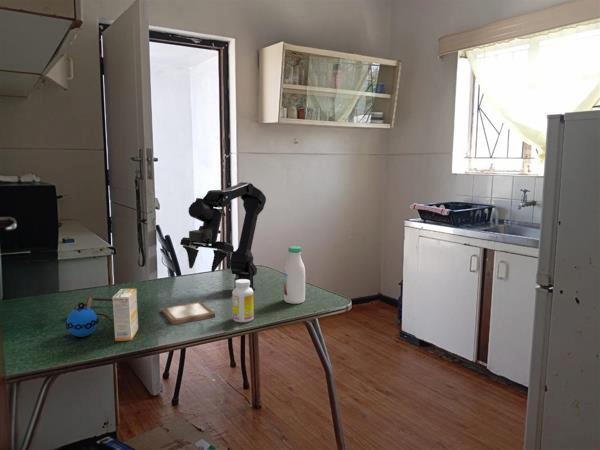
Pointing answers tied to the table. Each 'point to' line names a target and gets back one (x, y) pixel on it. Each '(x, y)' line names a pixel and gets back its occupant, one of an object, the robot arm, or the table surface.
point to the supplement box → (125, 314)
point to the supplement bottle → (242, 301)
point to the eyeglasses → (89, 304)
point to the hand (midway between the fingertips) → (201, 269)
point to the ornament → (82, 321)
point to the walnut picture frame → (187, 313)
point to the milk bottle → (294, 277)
